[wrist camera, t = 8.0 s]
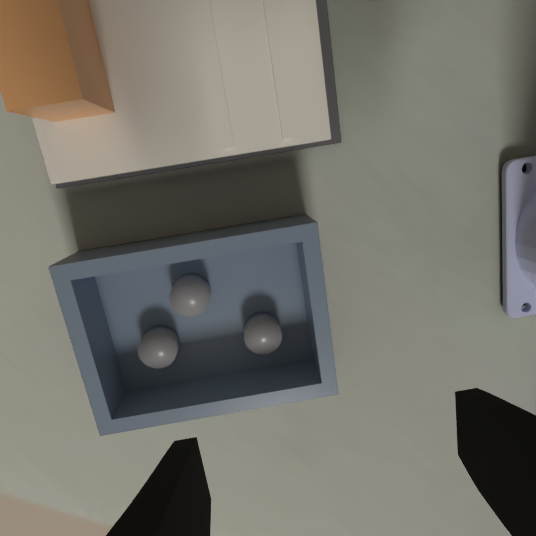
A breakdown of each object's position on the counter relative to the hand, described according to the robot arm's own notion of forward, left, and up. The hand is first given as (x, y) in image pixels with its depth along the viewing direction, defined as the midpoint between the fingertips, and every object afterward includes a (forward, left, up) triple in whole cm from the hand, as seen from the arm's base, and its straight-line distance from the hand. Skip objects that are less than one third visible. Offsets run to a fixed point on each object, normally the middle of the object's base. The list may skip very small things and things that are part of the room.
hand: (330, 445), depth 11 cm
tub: (+4, -1, -10) cm, 11 cm away
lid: (+3, -12, -10) cm, 16 cm away
